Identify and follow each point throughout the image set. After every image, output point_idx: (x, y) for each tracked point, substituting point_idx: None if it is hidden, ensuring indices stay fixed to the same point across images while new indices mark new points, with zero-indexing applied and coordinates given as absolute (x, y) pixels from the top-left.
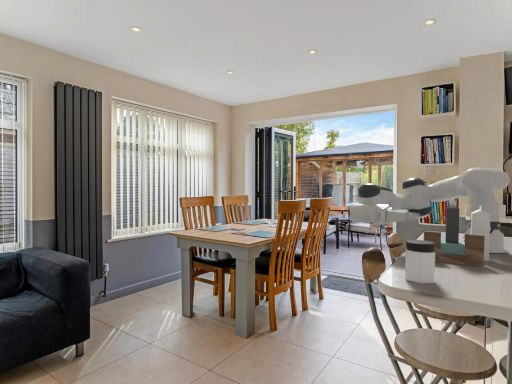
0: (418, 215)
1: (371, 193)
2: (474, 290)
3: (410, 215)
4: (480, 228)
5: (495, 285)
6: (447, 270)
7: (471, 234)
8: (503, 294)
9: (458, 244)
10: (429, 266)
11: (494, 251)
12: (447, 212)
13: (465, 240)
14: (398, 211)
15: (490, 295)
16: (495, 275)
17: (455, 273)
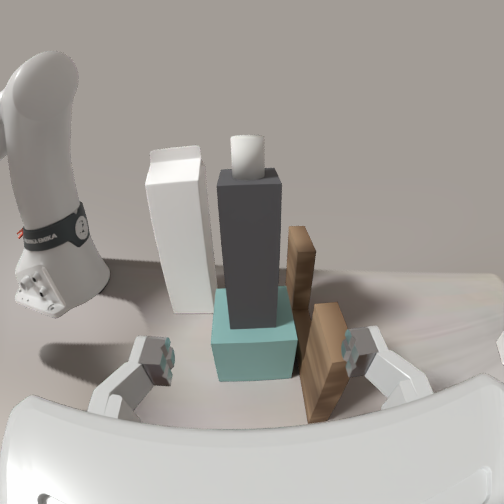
0: (167, 352)
1: None
2: (482, 296)
3: (408, 371)
4: (206, 219)
5: (436, 281)
6: (412, 344)
7: (299, 242)
8: (464, 275)
9: (288, 297)
10: None
11: (107, 268)
12: (280, 205)
13: (313, 268)
14: (396, 489)
15: (481, 284)
16: (369, 282)
17: (422, 328)
